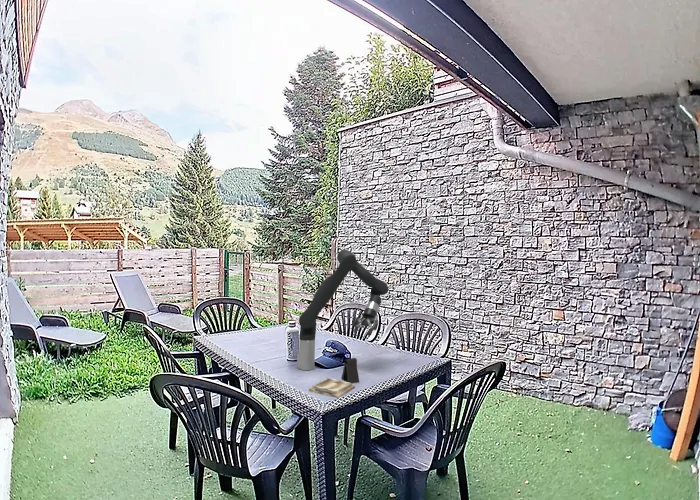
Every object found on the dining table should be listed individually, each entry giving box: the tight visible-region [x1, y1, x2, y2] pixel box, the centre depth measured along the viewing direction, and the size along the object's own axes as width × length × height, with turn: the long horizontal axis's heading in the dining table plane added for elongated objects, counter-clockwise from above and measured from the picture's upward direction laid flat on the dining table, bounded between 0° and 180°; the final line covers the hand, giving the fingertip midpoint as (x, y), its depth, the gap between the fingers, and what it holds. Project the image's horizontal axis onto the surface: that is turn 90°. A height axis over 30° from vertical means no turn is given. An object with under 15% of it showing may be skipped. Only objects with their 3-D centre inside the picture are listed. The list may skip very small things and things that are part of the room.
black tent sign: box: [340, 357, 360, 384], centre depth 244 cm, size 9×6×12 cm, turn 30°
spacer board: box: [308, 377, 356, 399], centre depth 230 cm, size 17×17×2 cm
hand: (361, 334), depth 256 cm, fingers open, 8 cm apart
